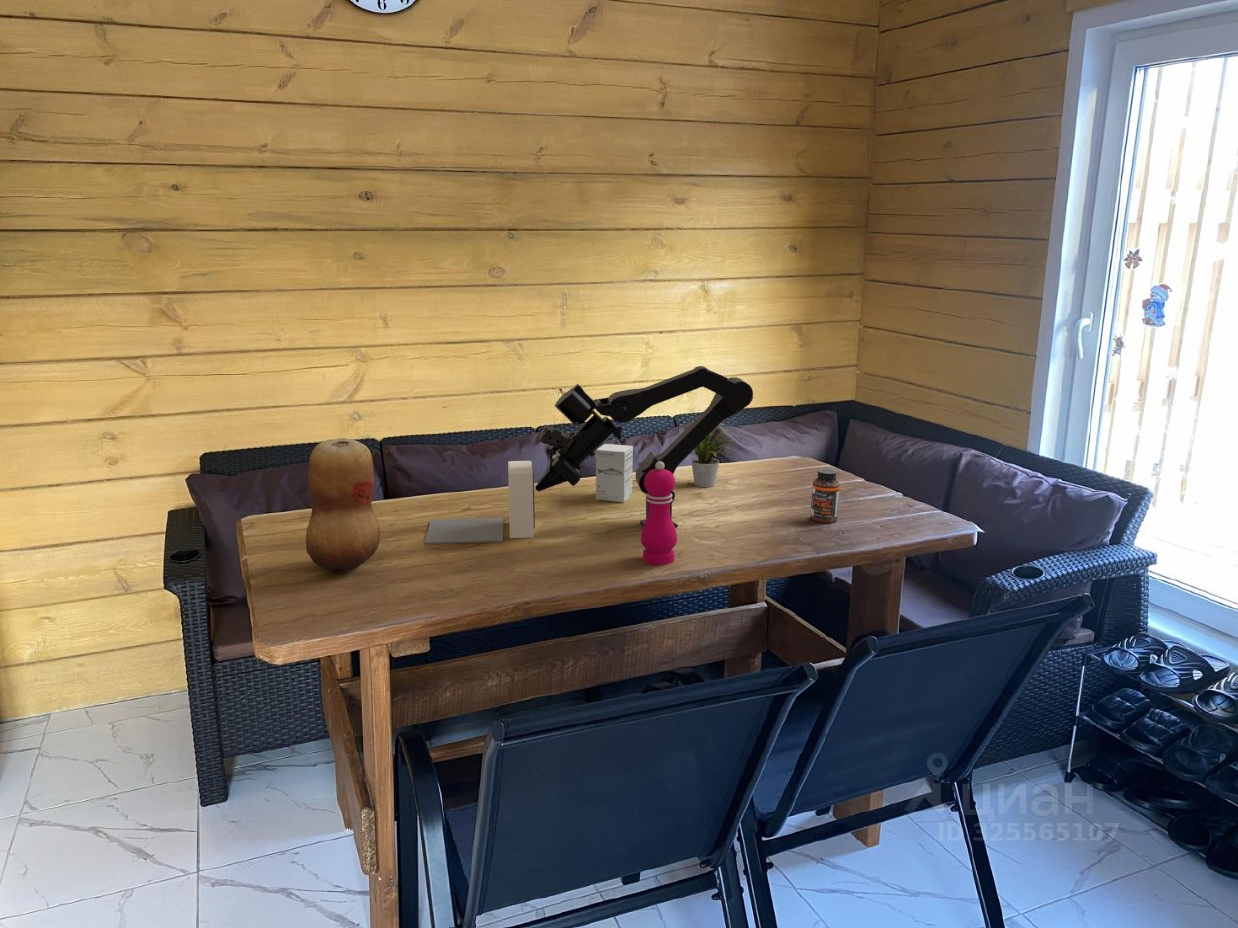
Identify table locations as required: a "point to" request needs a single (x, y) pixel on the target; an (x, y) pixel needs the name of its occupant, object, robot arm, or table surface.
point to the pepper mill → (659, 518)
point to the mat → (465, 530)
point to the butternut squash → (341, 505)
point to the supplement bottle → (825, 497)
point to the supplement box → (614, 472)
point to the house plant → (707, 460)
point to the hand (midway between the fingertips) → (536, 489)
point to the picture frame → (521, 499)
